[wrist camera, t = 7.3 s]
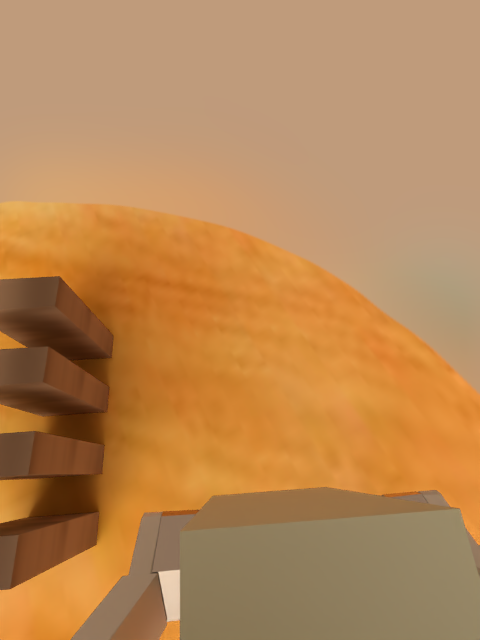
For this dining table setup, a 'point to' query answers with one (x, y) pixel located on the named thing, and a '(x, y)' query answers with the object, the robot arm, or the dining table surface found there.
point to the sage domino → (326, 569)
